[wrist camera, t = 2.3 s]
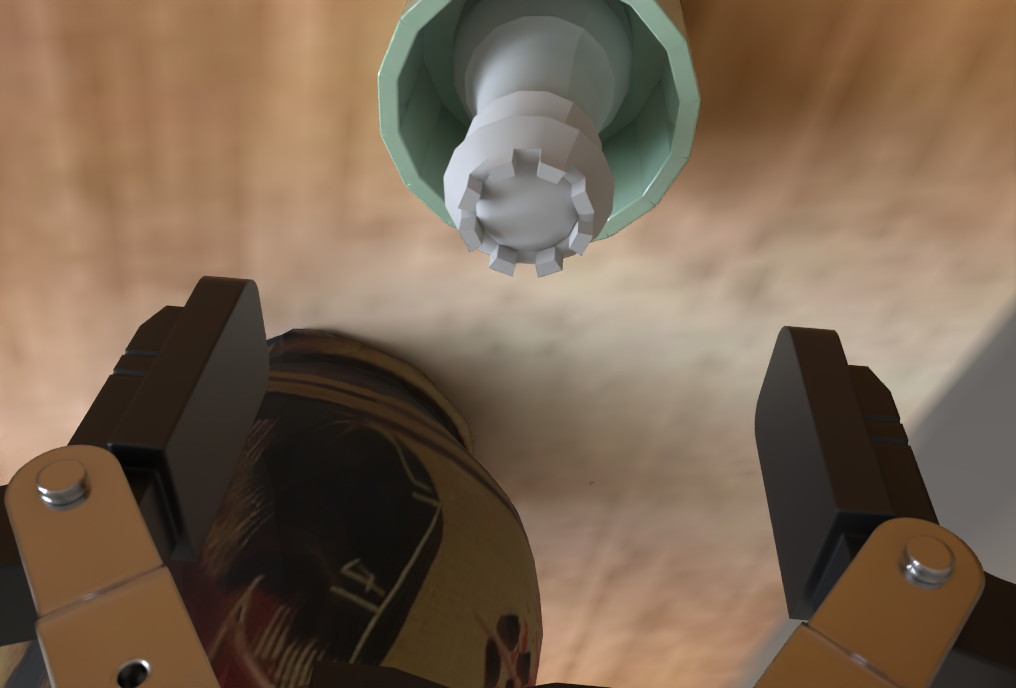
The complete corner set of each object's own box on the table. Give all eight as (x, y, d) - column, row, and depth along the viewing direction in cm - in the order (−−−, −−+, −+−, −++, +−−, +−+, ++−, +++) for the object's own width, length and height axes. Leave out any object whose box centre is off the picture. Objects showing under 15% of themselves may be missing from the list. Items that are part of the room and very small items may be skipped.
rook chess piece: (519, -87, 21) (488, 57, 14) (671, 24, 22) (702, 198, 16) (422, 67, 23) (361, 244, 17) (564, 158, 24) (555, 351, 18)
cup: (404, -118, 21) (369, -61, 17) (708, -96, 20) (729, -34, 17) (411, 153, 25) (384, 238, 22) (659, 173, 25) (669, 261, 22)
